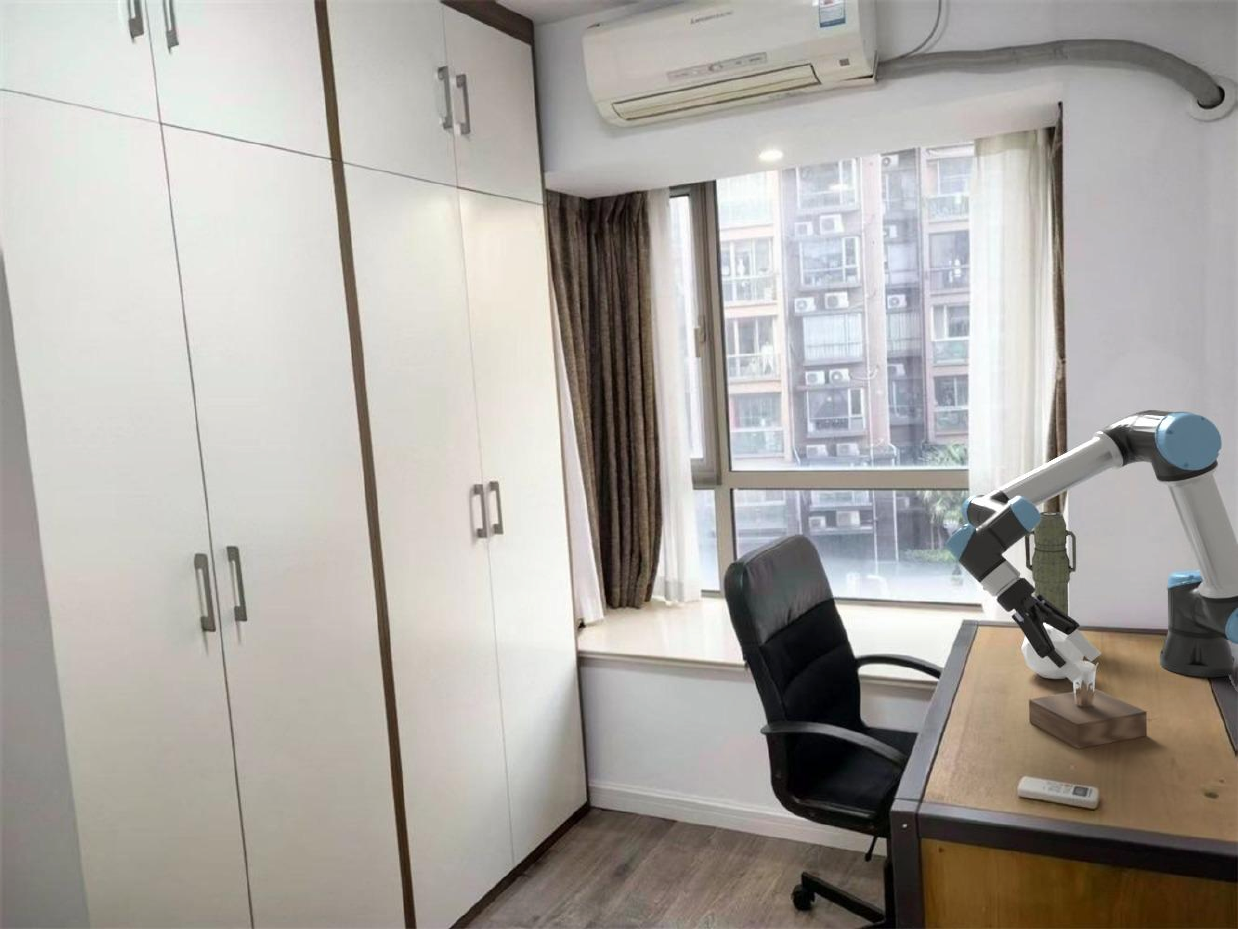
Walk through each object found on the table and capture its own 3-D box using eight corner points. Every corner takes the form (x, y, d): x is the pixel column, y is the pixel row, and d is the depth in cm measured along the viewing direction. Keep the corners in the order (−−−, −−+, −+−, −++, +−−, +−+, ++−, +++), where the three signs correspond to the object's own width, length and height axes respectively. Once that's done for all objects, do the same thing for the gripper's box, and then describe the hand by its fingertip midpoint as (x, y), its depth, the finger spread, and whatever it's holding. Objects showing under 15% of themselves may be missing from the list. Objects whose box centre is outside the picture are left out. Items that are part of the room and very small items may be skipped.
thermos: (1026, 638, 240) (1023, 510, 236) (1076, 640, 235) (1073, 510, 231) (1027, 648, 232) (1024, 516, 228) (1078, 651, 227) (1076, 516, 223)
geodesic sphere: (1090, 670, 199) (1085, 612, 206) (1023, 666, 204) (1020, 609, 211) (1085, 689, 211) (1080, 633, 217) (1021, 685, 216) (1019, 631, 222)
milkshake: (1091, 712, 179) (1090, 665, 177) (1066, 703, 183) (1066, 657, 182) (1105, 706, 181) (1105, 659, 179) (1080, 697, 185) (1080, 652, 184)
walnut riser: (1094, 710, 191) (1094, 688, 191) (1146, 735, 178) (1146, 711, 177) (1029, 722, 188) (1029, 699, 187) (1077, 748, 174) (1077, 724, 174)
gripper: (1015, 584, 200) (1089, 660, 192) (974, 612, 182) (1055, 697, 174) (1039, 563, 196) (1116, 639, 188) (1000, 590, 178) (1084, 676, 170)
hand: (1087, 667), depth 181 cm, fingers open, 13 cm apart
